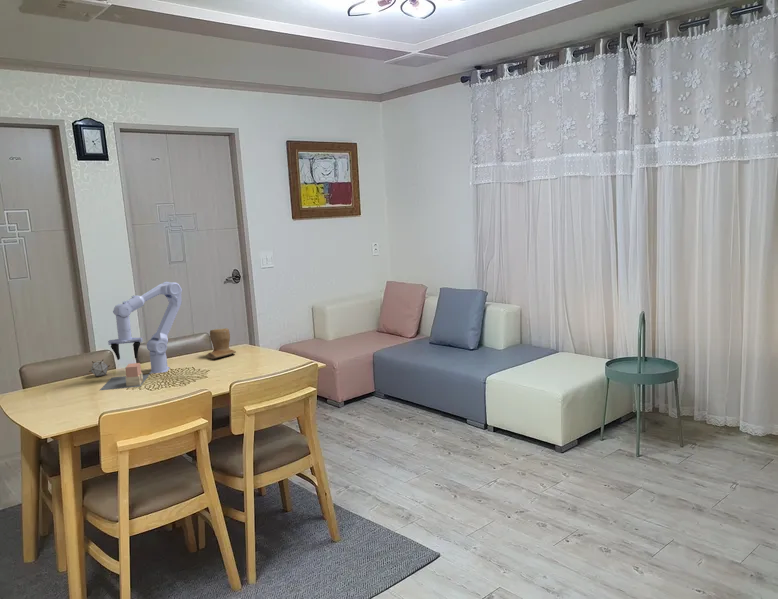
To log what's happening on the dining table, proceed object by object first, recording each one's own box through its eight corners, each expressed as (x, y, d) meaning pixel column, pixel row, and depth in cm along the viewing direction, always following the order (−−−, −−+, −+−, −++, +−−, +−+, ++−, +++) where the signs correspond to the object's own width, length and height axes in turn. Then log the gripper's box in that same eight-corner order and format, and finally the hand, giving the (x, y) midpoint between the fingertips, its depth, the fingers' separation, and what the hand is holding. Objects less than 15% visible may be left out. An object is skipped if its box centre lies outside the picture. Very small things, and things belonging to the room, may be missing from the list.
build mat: (111, 378, 286) (111, 377, 286) (150, 374, 289) (149, 374, 289) (99, 391, 264) (99, 390, 264) (140, 387, 268) (140, 386, 267)
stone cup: (225, 352, 330) (222, 325, 328) (239, 354, 323) (236, 326, 321) (201, 358, 318) (198, 330, 316) (215, 360, 311) (213, 332, 309)
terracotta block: (130, 373, 275) (128, 363, 274) (141, 372, 276) (140, 362, 275) (126, 377, 268) (125, 367, 268) (138, 376, 269) (136, 366, 268)
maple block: (130, 382, 276) (129, 373, 275) (143, 380, 277) (142, 372, 276) (126, 386, 269) (125, 377, 268) (139, 385, 270) (139, 376, 269)
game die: (96, 384, 290) (81, 370, 287) (108, 374, 297) (93, 359, 294) (106, 377, 285) (90, 362, 283) (117, 367, 292) (102, 352, 290)
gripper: (105, 332, 276) (108, 362, 278) (139, 330, 279) (142, 359, 281) (109, 330, 283) (112, 358, 285) (142, 327, 286) (145, 355, 287)
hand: (127, 358), depth 283 cm, fingers open, 7 cm apart
